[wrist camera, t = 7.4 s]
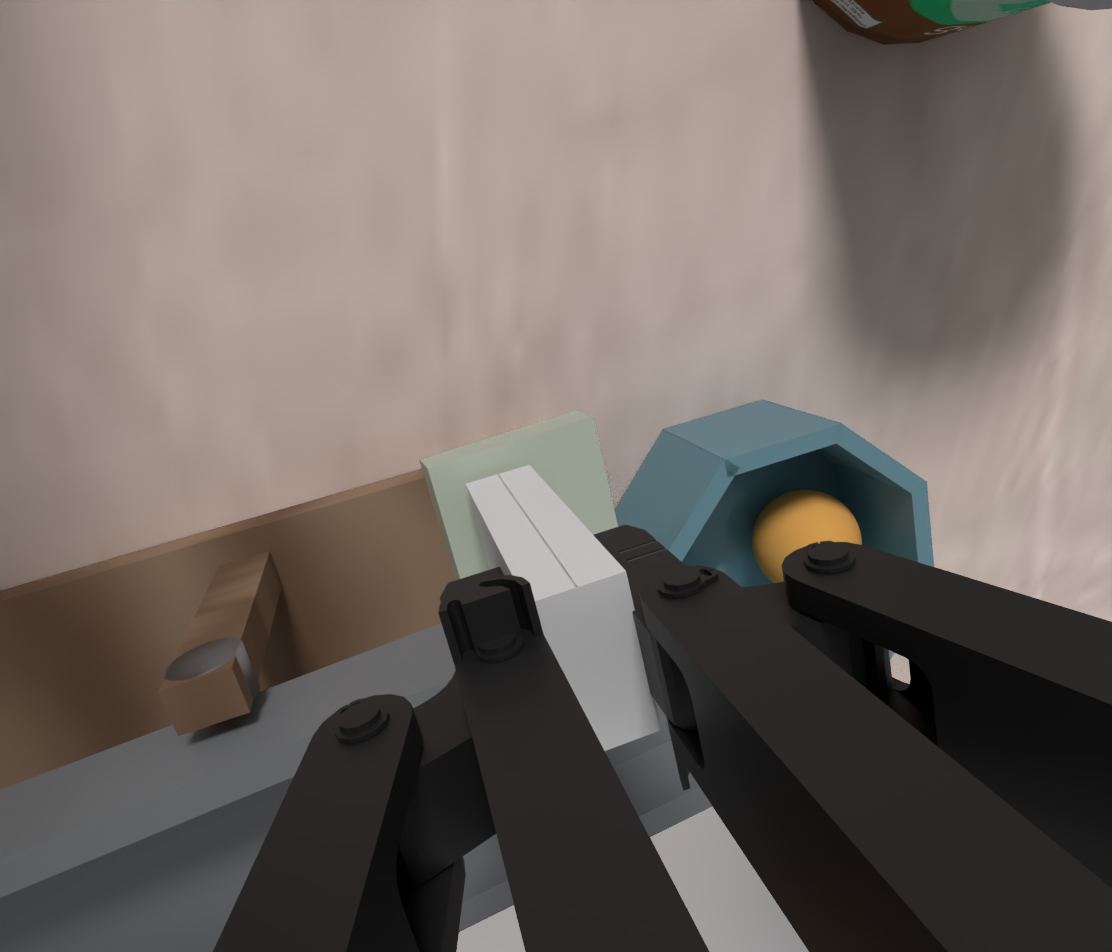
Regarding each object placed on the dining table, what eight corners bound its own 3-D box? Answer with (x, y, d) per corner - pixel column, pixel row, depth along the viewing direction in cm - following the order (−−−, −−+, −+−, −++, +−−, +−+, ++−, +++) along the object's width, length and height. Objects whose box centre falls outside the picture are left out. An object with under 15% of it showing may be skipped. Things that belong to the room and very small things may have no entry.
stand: (41, 923, 27) (-105, 1220, 18) (-127, 627, 23) (-403, 827, 15) (621, 712, 31) (722, 878, 22) (554, 430, 27) (644, 499, 19)
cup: (641, 680, 30) (693, 754, 26) (590, 450, 28) (637, 486, 23) (856, 604, 32) (942, 659, 27) (829, 379, 29) (920, 398, 24)
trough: (-106, 1046, 20) (-222, 1278, 15) (-370, 661, 16) (-629, 808, 12) (635, 716, 26) (717, 809, 21) (558, 382, 22) (635, 404, 18)
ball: (847, 620, 26) (880, 569, 28) (834, 518, 25) (870, 474, 27) (743, 606, 28) (782, 560, 31) (727, 512, 27) (769, 473, 30)
